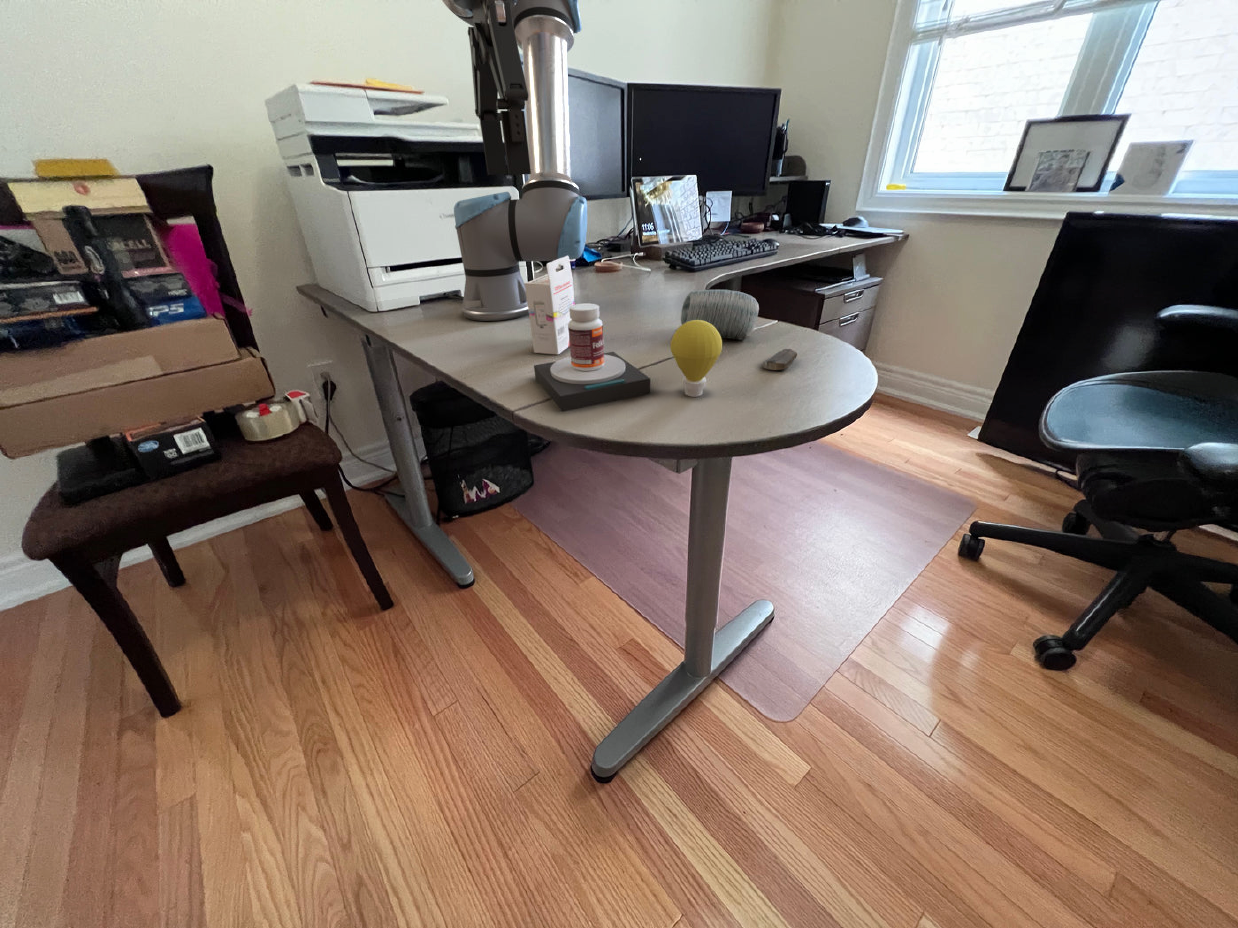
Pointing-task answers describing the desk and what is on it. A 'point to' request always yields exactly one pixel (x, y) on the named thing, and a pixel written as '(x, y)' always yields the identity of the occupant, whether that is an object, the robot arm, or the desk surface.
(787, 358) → the block
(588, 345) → the pill bottle
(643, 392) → the scale
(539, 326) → the ink cartridge box
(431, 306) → the desk surface
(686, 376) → the light bulb
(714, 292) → the spool
